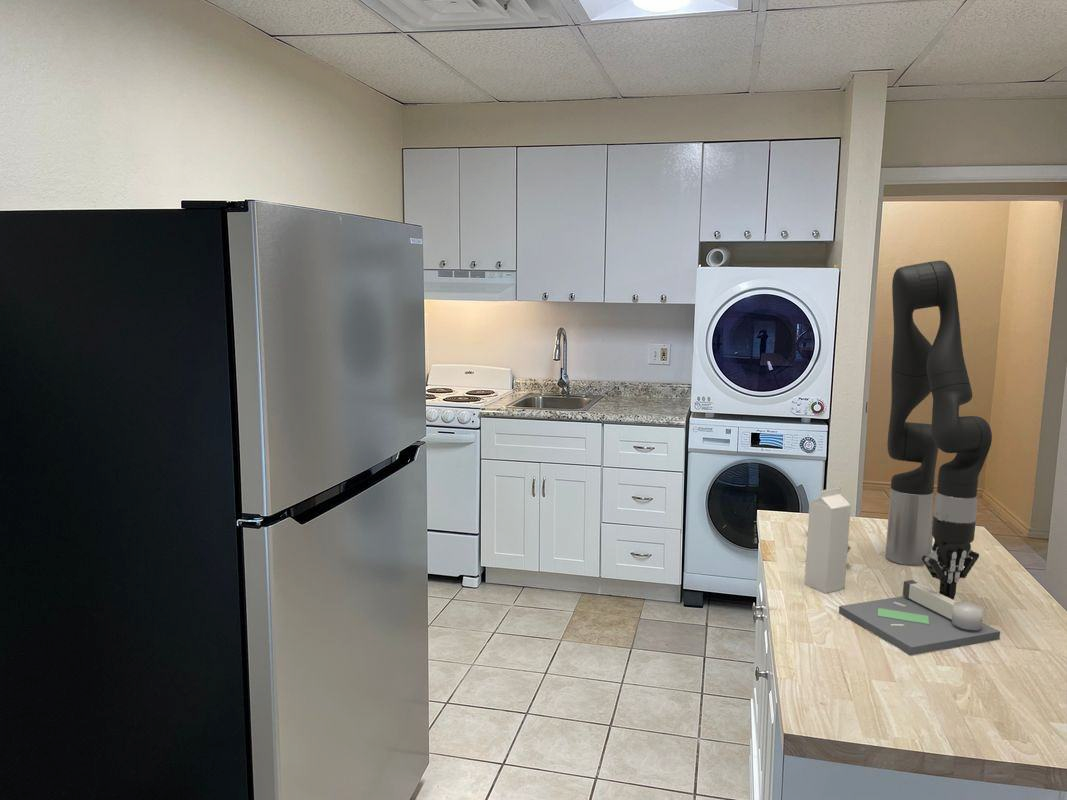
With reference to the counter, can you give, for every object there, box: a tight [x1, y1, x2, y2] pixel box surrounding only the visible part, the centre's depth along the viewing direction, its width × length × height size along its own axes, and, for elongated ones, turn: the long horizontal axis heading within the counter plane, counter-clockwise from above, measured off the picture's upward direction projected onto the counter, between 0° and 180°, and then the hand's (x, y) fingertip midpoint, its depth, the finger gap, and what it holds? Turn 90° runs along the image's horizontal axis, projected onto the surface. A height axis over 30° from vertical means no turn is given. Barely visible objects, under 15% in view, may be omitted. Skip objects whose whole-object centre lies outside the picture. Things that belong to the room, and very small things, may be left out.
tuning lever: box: [902, 579, 984, 630], centre depth 158 cm, size 18×5×4 cm, turn 19°
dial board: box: [838, 595, 1001, 656], centre depth 156 cm, size 21×19×2 cm
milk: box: [804, 487, 851, 594], centre depth 174 cm, size 6×6×22 cm
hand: (946, 598), depth 162 cm, fingers closed
